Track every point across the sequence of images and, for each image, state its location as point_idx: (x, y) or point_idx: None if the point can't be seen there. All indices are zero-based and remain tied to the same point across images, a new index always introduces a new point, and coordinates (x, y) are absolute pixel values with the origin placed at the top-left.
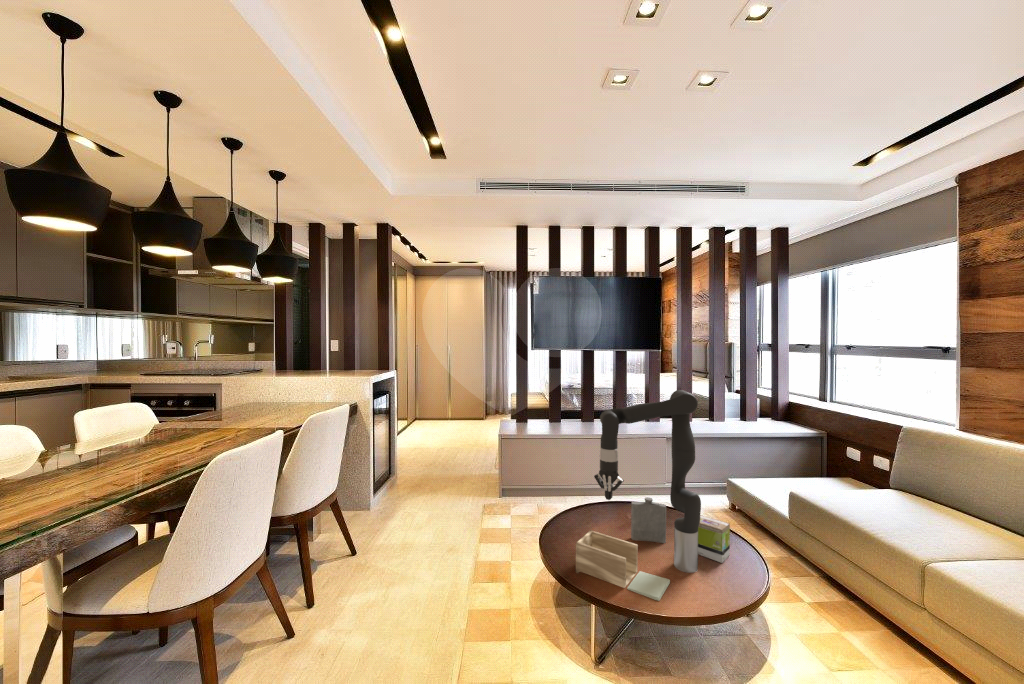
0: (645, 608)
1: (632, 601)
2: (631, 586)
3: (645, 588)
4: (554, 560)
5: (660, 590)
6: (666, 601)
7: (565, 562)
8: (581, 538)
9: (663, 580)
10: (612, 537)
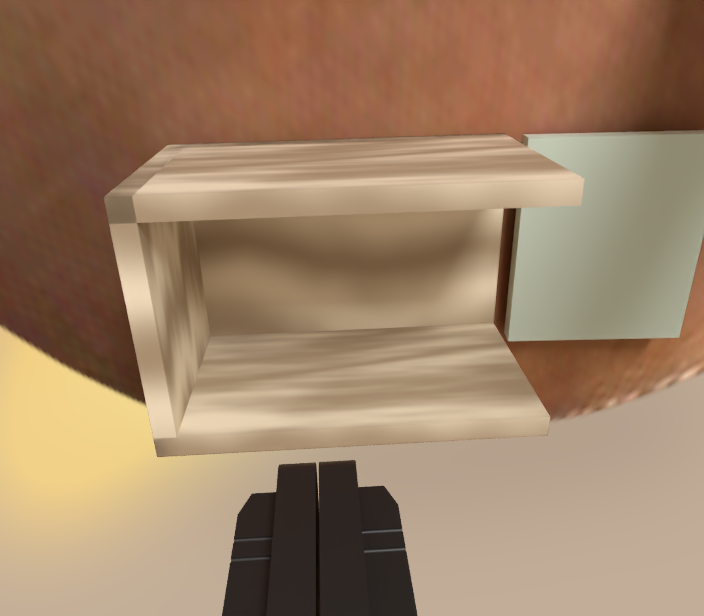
0: (606, 382)
1: (542, 374)
2: (526, 321)
3: (600, 299)
4: (20, 316)
5: (680, 274)
6: (693, 277)
7: (83, 294)
8: (144, 380)
9: (689, 164)
10: (344, 200)
